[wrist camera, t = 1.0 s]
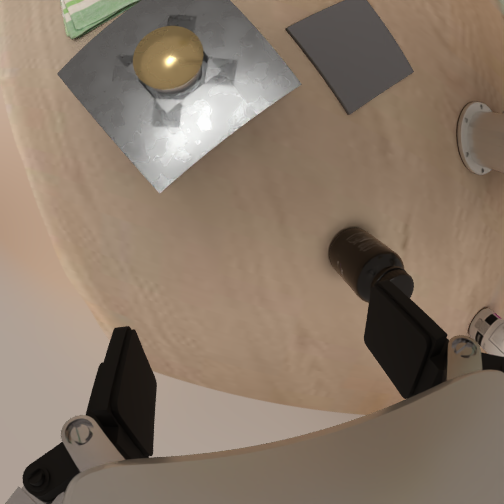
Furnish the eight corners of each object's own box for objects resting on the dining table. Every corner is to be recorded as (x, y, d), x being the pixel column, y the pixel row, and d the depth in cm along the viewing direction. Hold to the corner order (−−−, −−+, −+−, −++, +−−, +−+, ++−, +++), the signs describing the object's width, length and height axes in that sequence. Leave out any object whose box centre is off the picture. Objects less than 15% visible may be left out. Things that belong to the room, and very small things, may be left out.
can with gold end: (181, 41, 25) (175, 14, 18) (213, 76, 28) (217, 59, 20) (139, 73, 26) (119, 56, 18) (171, 109, 28) (160, 102, 21)
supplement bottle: (319, 265, 40) (359, 314, 29) (341, 219, 38) (391, 256, 27) (357, 277, 42) (401, 323, 31) (378, 235, 40) (430, 273, 29)
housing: (195, -16, 23) (195, -33, 19) (289, 89, 30) (301, 84, 26) (73, 79, 25) (57, 73, 21) (165, 185, 32) (159, 193, 28)
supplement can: (492, 304, 53) (531, 337, 40) (480, 332, 56) (515, 366, 43) (476, 308, 52) (517, 345, 38) (462, 337, 55) (499, 375, 41)
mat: (359, -5, 25) (361, -7, 25) (411, 72, 31) (413, 71, 30) (285, 29, 27) (286, 27, 26) (347, 114, 32) (350, 114, 32)
